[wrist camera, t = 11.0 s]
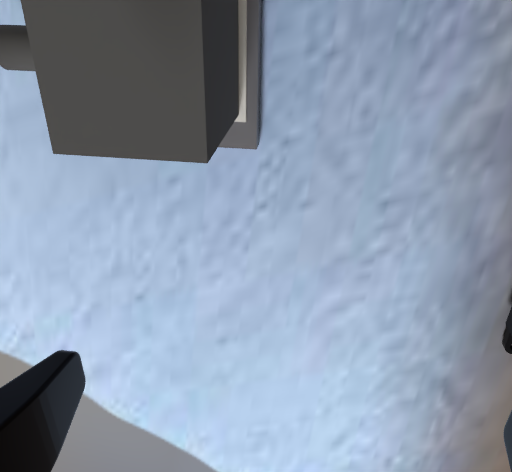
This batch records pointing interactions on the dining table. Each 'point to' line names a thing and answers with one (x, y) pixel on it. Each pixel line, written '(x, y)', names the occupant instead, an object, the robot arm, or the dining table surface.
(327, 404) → the dining table surface
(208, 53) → the grey block with peg
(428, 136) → the dining table surface
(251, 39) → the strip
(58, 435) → the robot arm
